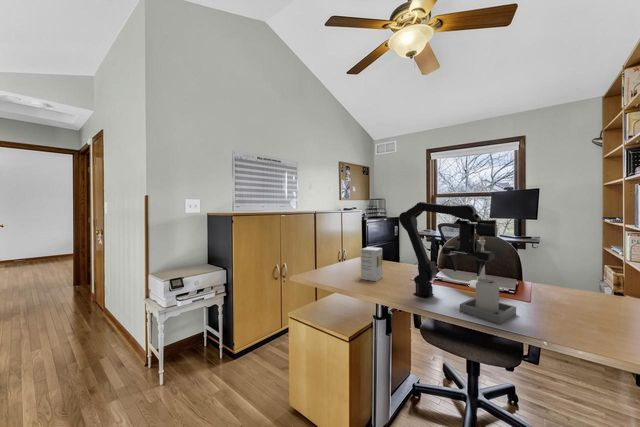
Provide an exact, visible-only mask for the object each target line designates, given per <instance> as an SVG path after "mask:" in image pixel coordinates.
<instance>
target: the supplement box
mask: <svg viewBox="0 0 640 427" xmlns="http://www.w3.org/2000/svg"><path fill="white" fill-rule="evenodd" d="M382 278H383V248H382V247H375V246H366V247H363V248H361V249H360V279H361V280H366V281H371V282H378V281H379V280H380V279H382Z"/></svg>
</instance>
